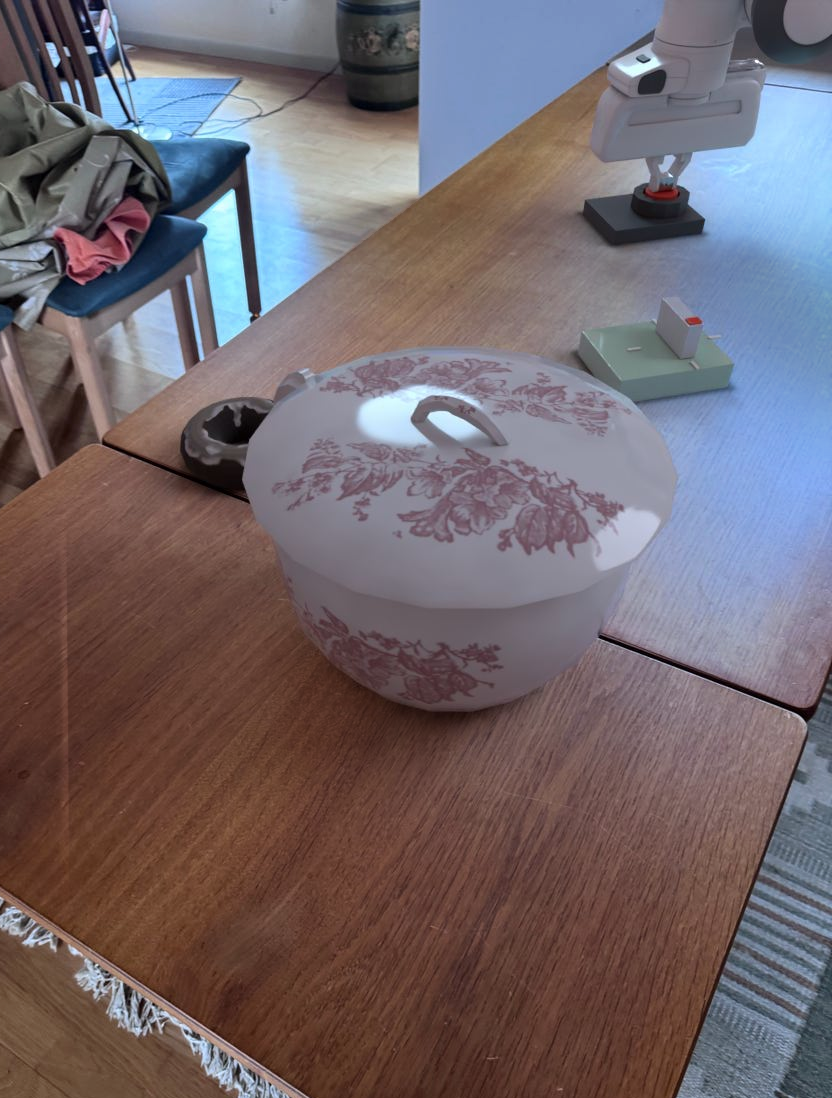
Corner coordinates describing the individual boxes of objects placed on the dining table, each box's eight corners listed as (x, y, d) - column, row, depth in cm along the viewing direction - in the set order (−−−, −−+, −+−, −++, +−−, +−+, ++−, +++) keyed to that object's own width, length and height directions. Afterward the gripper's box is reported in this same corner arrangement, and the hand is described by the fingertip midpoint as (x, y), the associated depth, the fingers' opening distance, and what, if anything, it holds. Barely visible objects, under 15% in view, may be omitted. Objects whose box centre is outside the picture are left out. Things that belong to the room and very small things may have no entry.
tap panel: (690, 339, 98) (697, 311, 96) (737, 389, 92) (746, 360, 89) (576, 356, 97) (581, 328, 94) (615, 408, 90) (621, 379, 88)
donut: (332, 456, 86) (330, 420, 83) (238, 515, 81) (232, 478, 78) (251, 410, 92) (247, 374, 89) (159, 462, 86) (150, 426, 83)
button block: (666, 205, 122) (673, 174, 119) (701, 236, 115) (709, 204, 112) (582, 216, 120) (586, 185, 118) (612, 248, 114) (618, 216, 111)
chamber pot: (674, 765, 61) (769, 530, 46) (268, 796, 61) (228, 568, 45) (576, 504, 80) (620, 276, 65) (266, 525, 79) (237, 300, 64)
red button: (666, 196, 118) (669, 182, 117) (680, 209, 115) (683, 194, 114) (637, 200, 117) (640, 186, 116) (651, 212, 115) (654, 198, 113)
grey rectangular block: (654, 330, 94) (662, 295, 91) (669, 327, 94) (677, 293, 92) (680, 359, 90) (689, 324, 87) (695, 357, 90) (704, 322, 88)
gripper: (756, 48, 108) (725, 171, 118) (595, 65, 106) (577, 189, 116) (785, 64, 104) (749, 189, 114) (617, 82, 102) (596, 209, 112)
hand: (661, 189), depth 115 cm, fingers closed, pressing on red button
